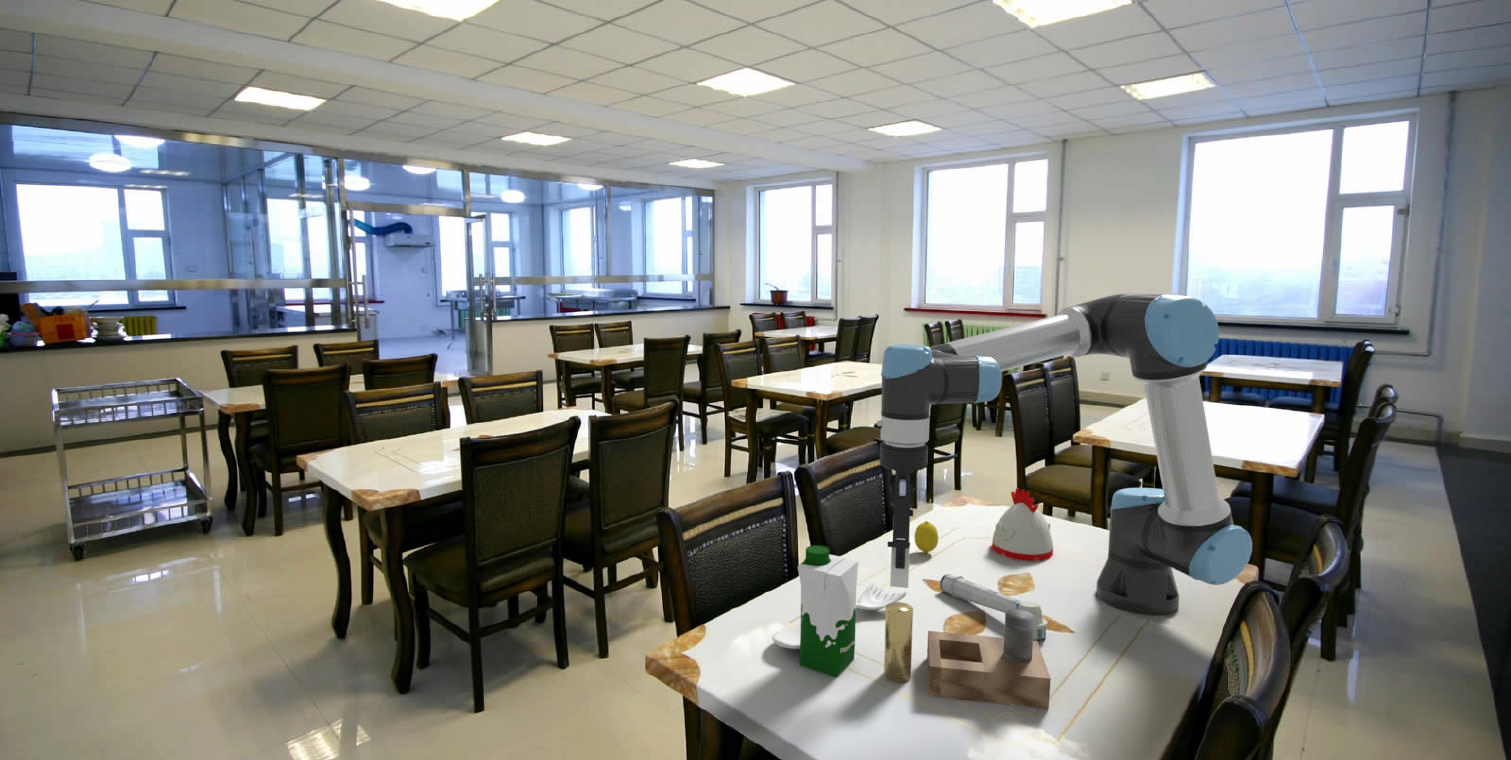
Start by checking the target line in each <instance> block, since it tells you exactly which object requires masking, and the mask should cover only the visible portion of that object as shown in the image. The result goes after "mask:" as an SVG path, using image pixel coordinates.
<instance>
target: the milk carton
mask: <svg viewBox="0 0 1511 760" xmlns="http://www.w3.org/2000/svg"><path fill="white" fill-rule="evenodd" d="M858 570H859V561H858V560H854V559H850V558H846V557H844V556H840V555H839V556H838V555H834V554H830V548H829V547H827V546H825V545H819V544H818V545H817V544H815V545H814V544H813V545H809V546H807V547H806V548H805V559H804V560H803V562H801V563H800V564H799V565H798V566H797V571H798V576H799V583H800V625H801V635H800V649H799V666H800V667H803V668H806V669H808V670H809V669H810V670H813V671H815V672H816V671H817V672H820V673H823V674H826V675H828V676H832V677H835V678H838V676H840V674H841V673H842V672H843V671H844V670H845V669H846V668H847V667H848V666H849V665H850V664H851V663H852V661H854V660H855V650H856V649H855V648H856V623H857V622H856V619H857V617H856V616H857V608H856V603H857V583H858V581H857V580H858Z"/></svg>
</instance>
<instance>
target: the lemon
mask: <svg viewBox="0 0 1511 760" xmlns="http://www.w3.org/2000/svg"><path fill="white" fill-rule="evenodd" d="M938 542H939V532H938V529H937V528H936V526H935V525H934V524H933V523H931V522H929V521H927V520H926V521H924V522H921V523H919V524H918V525H917V527H916V528H915V532H914V543H915V545H916V547H917V549H919V551H922V552H923V553H924V554H925V555H926V554H928V553H929V552H932V551H934V550H935V549H936V548H937V546H938Z"/></svg>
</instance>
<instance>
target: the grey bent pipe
mask: <svg viewBox="0 0 1511 760" xmlns="http://www.w3.org/2000/svg"><path fill="white" fill-rule="evenodd" d="M939 589H940V590H941V591H942V592H943V593H945V594H948V595H950V596H951V597H953V598H955V599H962V600H964V601H968V602H970V603H973V604H976V605H979V606H983V607H985V608H989V609H992V610H995V611H998V612H1001V613H1003V614H1005V613H1006V611H1008V610H1012V609H1018V610H1024V611H1027V612H1029V613H1031V614H1032V615H1033V616H1034V633H1033V640H1043V639H1045V638H1046V636H1047V630H1046V629H1047V628H1048V624H1049V622H1048V620H1046V618H1044V617H1043V611H1042V607H1041V605H1040V604H1039V603H1038V602H1034V601H1028V600H1023V601H1021V600H1018V599H1017V598H1013V597H1011V596H1009V595H1005V594H1003V593H1001V592H1000V591H999V592H998V591H995V590H993V589H991V588H989V587H986V586H982V585H981V584H978V583H976V582H973V581H970V580H968V579H965V578H964V577H963V576H962V575H958V576H956V575H952V574H950V573H949V574H944V575H942V577H941V579H940V580H939Z"/></svg>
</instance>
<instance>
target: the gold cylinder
mask: <svg viewBox="0 0 1511 760" xmlns="http://www.w3.org/2000/svg"><path fill="white" fill-rule="evenodd" d="M913 620H914V607H913V606H912V605H911V604H909V603H906V602H902V601H897V602H892V603H889V604H887V605H886V607H885V622H884V625H885V627H884V655H883V656H884V661H883V662H884V663H883V665H884V666H883V677H884V678H885V679H886V680H887V681H889V682H892V683H896V684H904V683H908V682H909V681H910V680H911V678H912V655H913V654H912V653H913V625H914V624H913V622H914V621H913Z"/></svg>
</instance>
